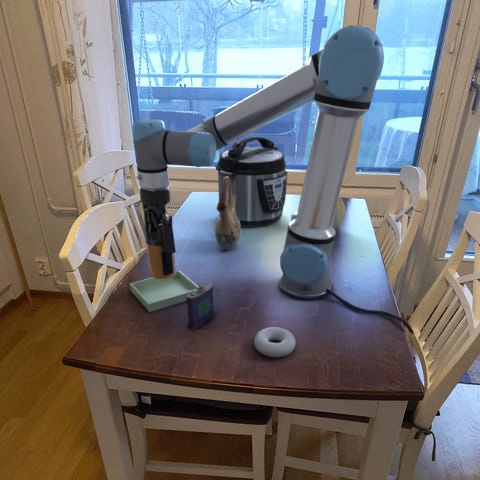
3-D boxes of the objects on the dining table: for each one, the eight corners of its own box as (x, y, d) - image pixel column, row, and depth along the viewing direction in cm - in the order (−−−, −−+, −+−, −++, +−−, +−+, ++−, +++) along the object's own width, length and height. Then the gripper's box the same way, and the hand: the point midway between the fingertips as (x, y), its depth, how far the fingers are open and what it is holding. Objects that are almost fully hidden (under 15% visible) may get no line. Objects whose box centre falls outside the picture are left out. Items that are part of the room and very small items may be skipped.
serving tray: (201, 296, 123) (201, 288, 122) (149, 312, 116) (148, 304, 114) (179, 277, 133) (179, 270, 132) (130, 290, 126) (129, 283, 124)
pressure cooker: (224, 233, 164) (222, 146, 146) (209, 210, 187) (206, 132, 169) (296, 226, 170) (303, 142, 153) (274, 204, 193) (277, 129, 176)
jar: (180, 275, 120) (178, 237, 114) (156, 281, 116) (151, 242, 110) (169, 265, 125) (166, 228, 119) (145, 271, 122) (140, 233, 115)
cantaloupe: (326, 240, 158) (330, 200, 150) (297, 229, 168) (300, 191, 160) (351, 231, 166) (357, 192, 158) (322, 220, 176) (326, 184, 167)
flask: (209, 311, 116) (207, 276, 110) (217, 314, 115) (216, 279, 109) (186, 326, 110) (183, 290, 104) (194, 330, 108) (192, 294, 103)
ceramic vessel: (234, 258, 145) (233, 184, 131) (209, 255, 147) (206, 182, 133) (245, 240, 158) (246, 171, 144) (222, 237, 160) (220, 169, 146)
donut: (298, 360, 98) (292, 334, 107) (299, 348, 97) (293, 323, 105) (255, 361, 98) (252, 335, 106) (255, 349, 96) (252, 324, 104)
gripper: (125, 179, 113) (136, 258, 125) (156, 199, 99) (165, 286, 111) (152, 176, 116) (160, 252, 129) (185, 194, 102) (190, 279, 115)
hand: (162, 268), depth 120 cm, fingers closed on jar, 7 cm apart
